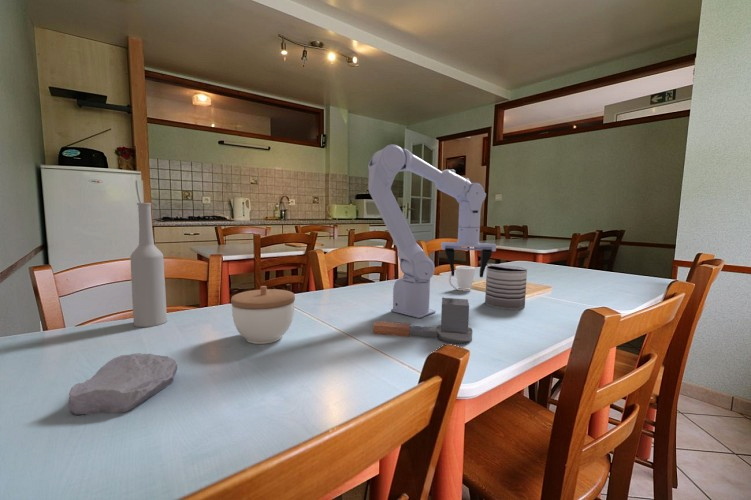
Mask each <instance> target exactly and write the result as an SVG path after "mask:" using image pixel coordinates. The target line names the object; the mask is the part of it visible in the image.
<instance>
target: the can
mask: <svg viewBox="0 0 751 500" xmlns="http://www.w3.org/2000/svg"><path fill="white" fill-rule="evenodd" d="M487 265H488V266H487ZM487 265H486V275H485V276H486V277H485V297H484V298H485V300H484V303H485V305H486V306H489V307H491V308H494V309H495V308H496V309H500V310H501V309H502V310H522V309H524V308H525V307H526V306H525V305H526V294H527V293H526V291H527V276H528V271H527V270H528V269H527V268H525V267H521V266H515V265H508V264H501V263H500V264H498V263H487Z"/></svg>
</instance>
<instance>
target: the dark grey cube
mask: <svg viewBox="0 0 751 500" xmlns="http://www.w3.org/2000/svg"><path fill="white" fill-rule="evenodd" d="M440 314H441V316H440V317H441V320H440V324H441V332H448V333H460V334H468V327H469V318H470V316H469V315H470V303H469V299H467V298H454V297H453V298H452V297H451V298H450V297H441V313H440Z"/></svg>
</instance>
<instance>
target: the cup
mask: <svg viewBox="0 0 751 500" xmlns="http://www.w3.org/2000/svg"><path fill="white" fill-rule="evenodd" d="M476 269H477V268H476V267H474V266H470V265H458V266H457V265H456V266H454V273H455V274H456V275H455V276H456V278H455V279H456V282H457V283H456V284H457V287H458V288H457V287H455V286H454V285H453V284H452V277H453V276H452V275H451V272H450V274H449V276H448V282H449V285H450V286H451V287H452V288H453V289H455V290H457V291H461V290H463V292H469V291H472V289H471V288H472V286H473V283H474V277H475V273H476Z"/></svg>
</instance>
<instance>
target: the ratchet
mask: <svg viewBox="0 0 751 500" xmlns="http://www.w3.org/2000/svg"><path fill="white" fill-rule="evenodd" d="M372 334H373V335H374V334H375V335H385V336H395V337H396V336H397V337H407V338H408V337H415V338H426V339H437V340H438V341H440V342H442V343H445V344H451V345H468V344H469V343H471V342H472V341H473V329H472V328H471V327H470V326H468V334H460V333H448V332H441V323H440V324H438V325H436V327H430V326H419V325H418V326H417V325H411V323H407V322H393V321H381V320H375V322H374V323H373V325H372Z"/></svg>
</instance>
